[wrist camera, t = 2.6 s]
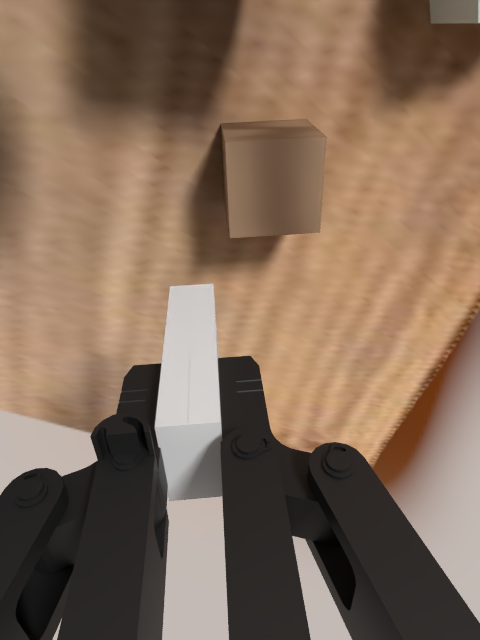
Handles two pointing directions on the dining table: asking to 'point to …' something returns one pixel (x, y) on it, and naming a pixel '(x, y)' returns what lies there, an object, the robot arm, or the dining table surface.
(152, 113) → the dining table surface
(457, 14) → the grey-green block
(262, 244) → the dining table surface
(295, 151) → the walnut block
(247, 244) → the dining table surface
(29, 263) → the dining table surface
